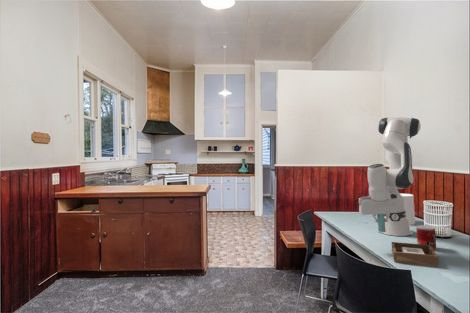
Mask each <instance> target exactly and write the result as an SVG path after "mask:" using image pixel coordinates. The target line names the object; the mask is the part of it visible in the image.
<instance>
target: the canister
mask: <svg viewBox="0 0 470 313" xmlns="http://www.w3.org/2000/svg"><path fill="white" fill-rule="evenodd" d="M399 193H400V195H401V196H402V197H403V198H404V209H405V212H406V219H408V220H409V226H414V225H415V224H416V218H415V217H416V216H415V215H416V214H415V199H414V198H415V196H414V194H412V193H401V192H399Z"/></svg>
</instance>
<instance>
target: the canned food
mask: <svg viewBox="0 0 470 313" xmlns="http://www.w3.org/2000/svg"><path fill="white" fill-rule="evenodd" d="M436 237H437V234H436V227H434V226H431V225H425V224H424V225H422V224H421V225H416V239H417V240H416V241H417V243H416V244H423V245H431V247H432V248H433V250H434V251H437V238H436Z"/></svg>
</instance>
